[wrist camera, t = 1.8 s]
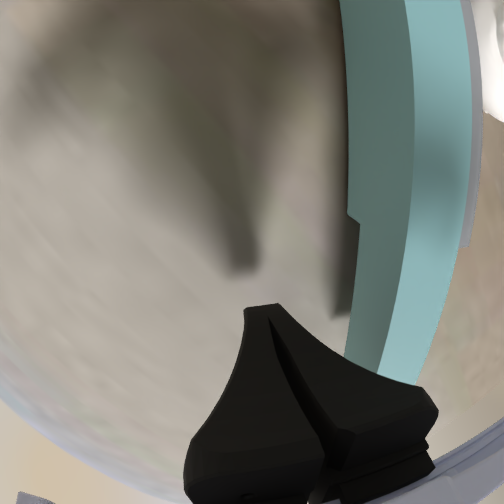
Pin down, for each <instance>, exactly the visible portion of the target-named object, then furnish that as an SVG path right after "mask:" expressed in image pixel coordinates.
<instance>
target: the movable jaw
mask: <svg viewBox="0 0 504 504" xmlns="http://www.w3.org/2000/svg"><path fill="white" fill-rule="evenodd" d="M339 1H340V9H341V17H342V26H343V36H344V47H345V60H346V75H347V94H348V126H349V173H348V207H347V214H348V215H349V216H350V217H352V218H353V219H354V220H356V221H357V222H358V223H360V235H359V247H358V257H357V267H356V276H355V285H354V293H353V301H352V308H351V315H350V322H349V329H348V335H347V341H346V347H345V353H344V358H346V359H347V360H349V361H351V362H353V363H355V364H357V365H359V366H361V367H363V368H365V369H367V370H369V371H372V372H374V373H377V374H379V375H382V376H385V377H387V378H390V379H393V380H396V381H399V382H403V383H407V384H411V385H415V383H416V381H417V379H418V376H419V374H420V371H421V369H422V367H423V364H424V362H425V359H426V356H427V354H428V351H429V348H430V346H431V343H432V340H433V337H434V334H435V332H436V329H437V326H438V323H439V319H440V316H441V313H442V310H443V307H444V303H445V300H446V296H447V293H448V289H449V285H450V282H451V278H452V274H453V270H454V265H455V261H456V256H457V252H458V248H463V247H469V243H470V238H471V233H472V228H473V222H474V216H475V210H476V203H477V196H478V188H479V179H480V169H481V156H482V135H483V98H482V78H481V66H480V56H479V47H478V40H477V33H476V27H475V21H474V16H473V11H472V6H471V1H470V0H339Z"/></svg>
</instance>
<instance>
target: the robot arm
mask: <svg viewBox="0 0 504 504" xmlns="http://www.w3.org/2000/svg"><path fill="white" fill-rule="evenodd" d="M243 312H244V331H243V337H242V342H241V346H240V350H239V353H238V357H237V360H236V363H235V366H234V369H233V372H232V374H231V376H230V379H229V381H228V383H227V385H226V387H225V389H224V392H223V394H222V395H221V397H220V399H219V401H218V403H217V404H216V406H215V407H214V409H213V411H212V412H211V414H210V415H209V417H208V418H207V420H206V421H205V423H204V424H203V425H202V427H201V428H200V429H199V430H198V432H197V433H196V434H195V436H194V437H193V438H192V439H191V442H190V445H189V448H188V451H187V455H186V459H185V464H184V472H183V479H184V491H185V494H186V495H187V496H188V498H189V499H190V500H191V501H192V503H193V504H307V502H308V503H309V504H477V503H478V502H480V501H481V500H482V499H483V498H485V497H486V496H488V495H489V494H490V493H491V492H493V491H494V490H495V489H497V488H498V487H499V486H500V485H502V484H503V483H504V417H503V418H502V419H500V420H499V421H497V422H496V423H494V424H493V425H492V426H490V427H489V428H487V429H486V430H484V431H483V432H481V433H480V434H478V435H477V436H475V437H473V438H472V439H471V440H469V441H467V442H465V443H464V444H462V445H460V446H459V447H457V448H455V449H454V450H452V451H450V452H448V453H446V454H445V455H443V456H441V457H439V458H437V459H435V460H433V461H432V460H431V458H430V457H429V455H428V453H427V451H426V450H427V449H428V448H429V445H428V443H427V441H426V440H425V437H426V436H427V434H428V433H429V431H430V430H431V428H432V427H433V425H434V424H435V422H436V420H437V418H438V413H439V410H438V408H437V407H436V405H435V404H434V402H433V401H432V399H431V398H430V396H429V395H428V394H427V393H426V391H425V390H424V389H423V388H422V387H419V386H415V385H411V384H407V383H403V382H399V381H396V380H393V379H390V378H387V377H385V376H382V375H379V374H377V373H374V372H372V371H369V370H367V369H365V368H363V367H361V366H359V365H357V364H355V363H353V362H351V361H349V360H347V359H346V358H344V357H342V356H341V355H339V354H338V353H336V352H334V351H333V350H331V349H330V348H328V347H327V346H326V345H324V344H323V343H322V342H320V341H319V340H318V339H317V338H315V337H314V336H313V335H312V334H311V333H309V332H308V331H307V330H306V329H305V328H304V327H302V326H301V325H300V324H299V323H298V322H297V321H296V320H295V319H294V318H293V317H292V316H291V315H290V314H289V313H288V312H287V311H286V310H285V309H284V308H283V307H282V306H281V305H280V304H279V303H276V304H269V305H262V306H254V307H247V308H245V309H244V310H243ZM16 504H55V503H53V502H51V501H49V500H47V499H44V498H41V497H37V496H34V495H30V494H27V493H24V492H18V497H17V502H16Z"/></svg>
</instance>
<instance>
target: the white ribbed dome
mask: <svg viewBox="0 0 504 504" xmlns="http://www.w3.org/2000/svg"><path fill="white" fill-rule="evenodd" d="M470 1H471V6H472V11H473V16H474V21H475V27H476V33H477V40H478V47H479V56H480V66H481V78H482V98H483V111H484V112H486V113H489V114H490V115H492V116H493V117H494V118H496V119H498V120H500V121H502V122H504V0H470Z"/></svg>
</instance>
